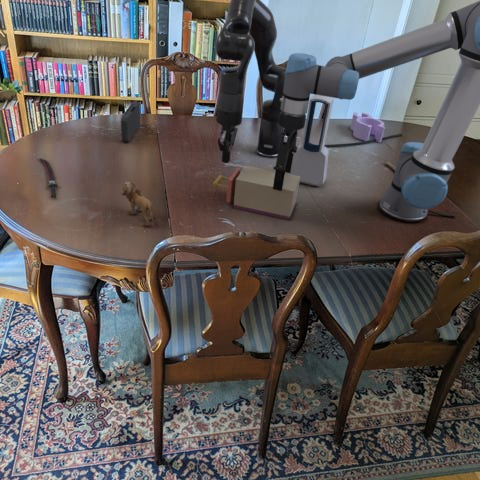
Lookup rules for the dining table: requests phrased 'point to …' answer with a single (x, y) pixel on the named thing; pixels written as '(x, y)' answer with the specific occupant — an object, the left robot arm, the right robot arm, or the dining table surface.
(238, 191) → the cream rectangular box
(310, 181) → the electronic device
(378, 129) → the clip
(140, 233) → the dining table surface
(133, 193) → the lion figurine
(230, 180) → the drawer
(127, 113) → the handheld gaming console
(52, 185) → the sword
